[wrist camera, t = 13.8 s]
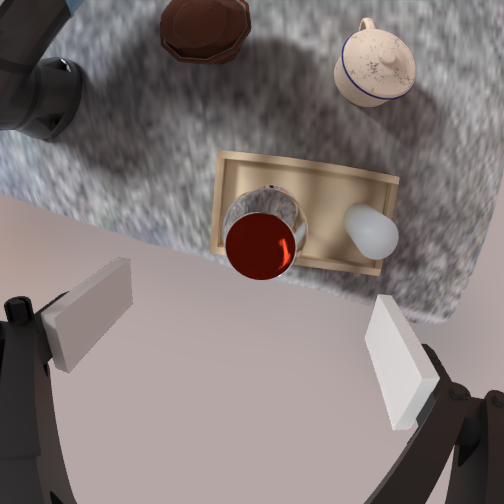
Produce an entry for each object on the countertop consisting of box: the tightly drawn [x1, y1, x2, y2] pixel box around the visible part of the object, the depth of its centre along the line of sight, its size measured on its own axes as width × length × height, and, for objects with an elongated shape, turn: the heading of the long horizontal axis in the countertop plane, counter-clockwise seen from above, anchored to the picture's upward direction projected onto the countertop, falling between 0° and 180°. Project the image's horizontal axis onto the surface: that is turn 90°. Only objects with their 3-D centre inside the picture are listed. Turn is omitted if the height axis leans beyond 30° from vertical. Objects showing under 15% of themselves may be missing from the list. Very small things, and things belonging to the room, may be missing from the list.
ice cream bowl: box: [160, 0, 251, 65], centre depth 29 cm, size 11×11×15 cm
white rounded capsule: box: [343, 203, 399, 260], centre depth 36 cm, size 5×5×9 cm
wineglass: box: [222, 184, 308, 281], centre depth 33 cm, size 8×8×18 cm
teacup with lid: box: [334, 18, 416, 107], centre depth 29 cm, size 12×9×12 cm
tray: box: [210, 150, 400, 276], centre depth 40 cm, size 24×14×3 cm, turn 84°
